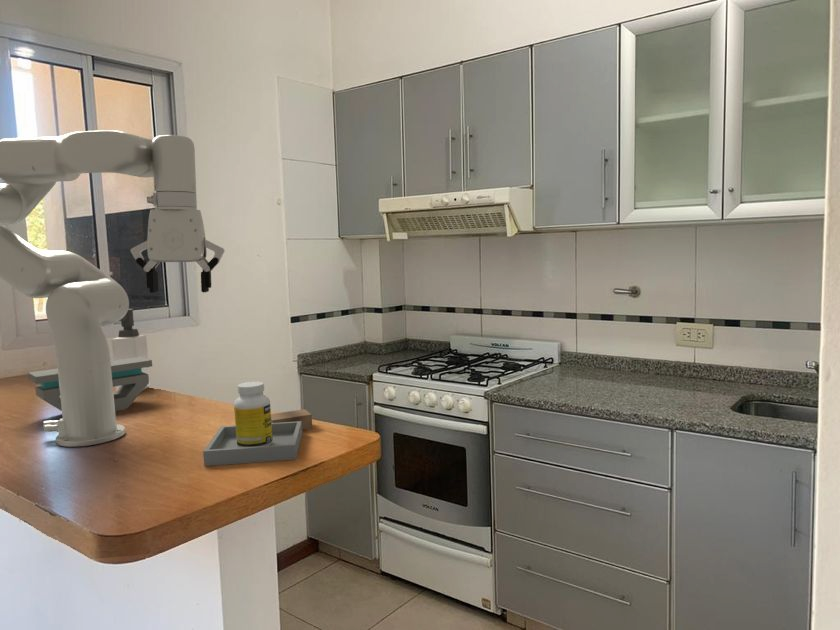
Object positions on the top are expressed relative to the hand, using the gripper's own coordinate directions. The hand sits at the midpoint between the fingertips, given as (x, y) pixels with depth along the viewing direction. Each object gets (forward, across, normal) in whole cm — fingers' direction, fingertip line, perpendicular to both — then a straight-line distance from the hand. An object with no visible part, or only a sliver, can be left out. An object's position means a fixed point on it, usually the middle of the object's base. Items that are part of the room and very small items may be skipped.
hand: (179, 292), depth 125 cm
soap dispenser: (+31, -28, +50) cm, 65 cm away
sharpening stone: (+31, -28, +28) cm, 50 cm away
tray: (+28, +15, -10) cm, 34 cm away
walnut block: (+28, +20, +2) cm, 35 cm away
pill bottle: (+28, +15, -10) cm, 33 cm away
